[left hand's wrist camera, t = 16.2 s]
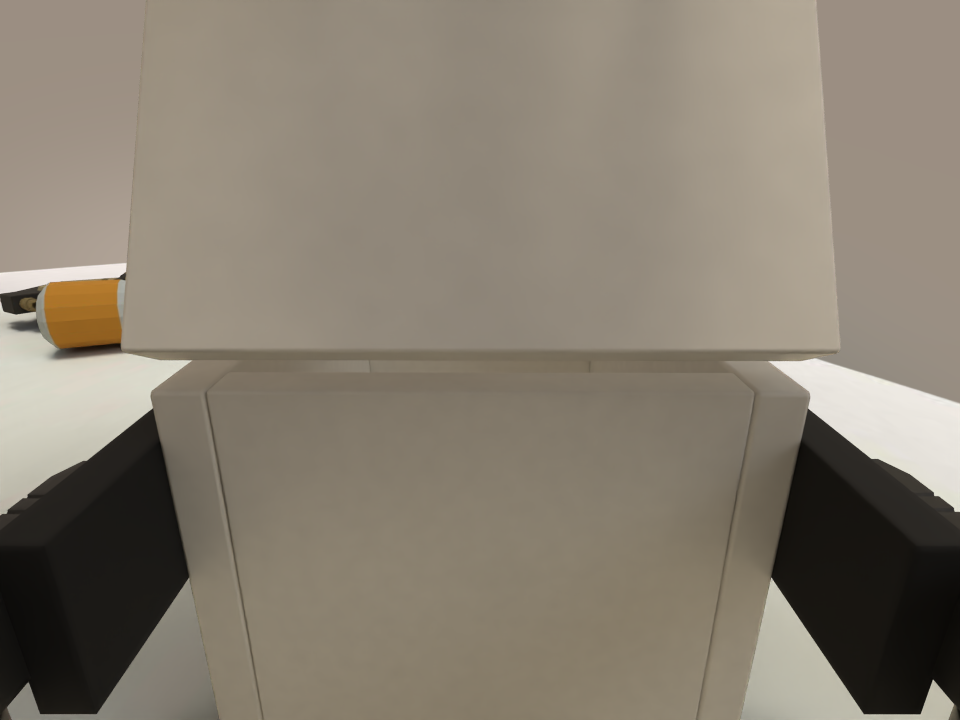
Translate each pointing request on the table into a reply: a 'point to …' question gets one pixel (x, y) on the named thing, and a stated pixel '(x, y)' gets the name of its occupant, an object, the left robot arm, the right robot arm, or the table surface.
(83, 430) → the table surface
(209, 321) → the lid
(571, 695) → the chest
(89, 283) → the spray gun
